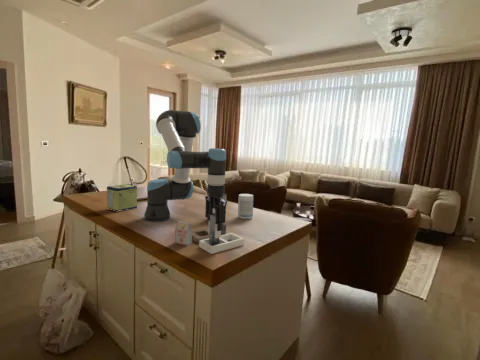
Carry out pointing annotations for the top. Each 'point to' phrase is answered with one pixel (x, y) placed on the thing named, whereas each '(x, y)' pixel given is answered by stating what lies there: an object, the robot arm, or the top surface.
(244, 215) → the supplement tub
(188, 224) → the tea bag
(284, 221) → the top surface
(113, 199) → the protein box
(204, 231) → the socket
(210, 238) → the grey bottle
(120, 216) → the top surface
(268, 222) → the top surface
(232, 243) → the tray
